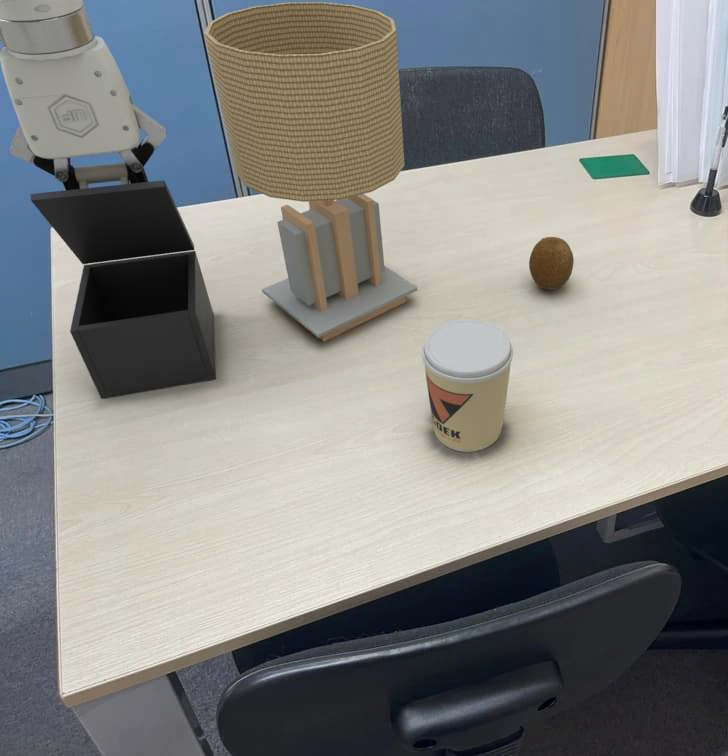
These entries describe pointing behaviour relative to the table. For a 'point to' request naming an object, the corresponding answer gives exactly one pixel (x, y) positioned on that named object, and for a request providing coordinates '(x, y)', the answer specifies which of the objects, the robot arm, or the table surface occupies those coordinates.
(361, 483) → the table surface
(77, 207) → the lid
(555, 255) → the fruit
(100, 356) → the dark grey hollow box
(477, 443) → the coffee cup
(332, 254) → the desk lamp
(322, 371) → the table surface
